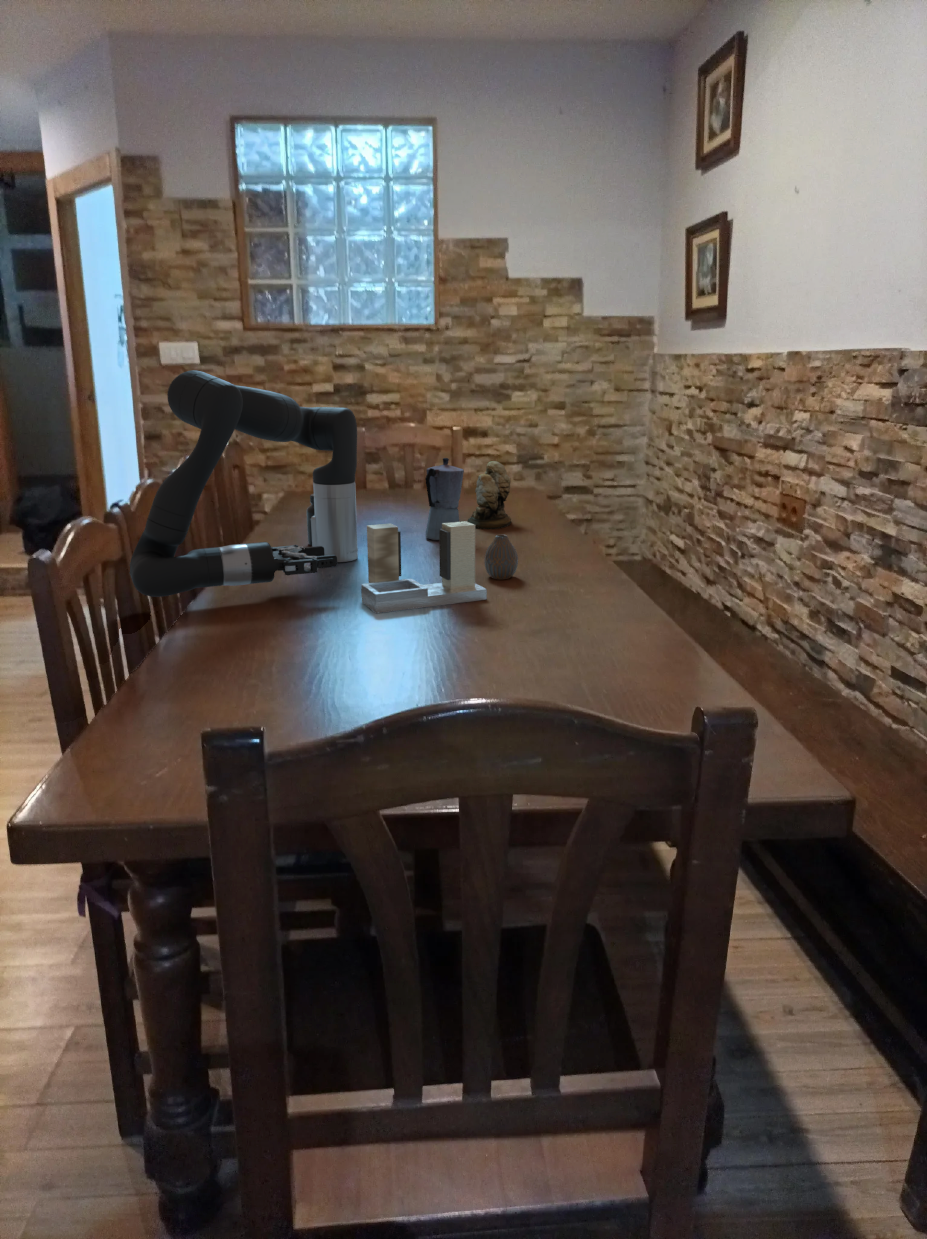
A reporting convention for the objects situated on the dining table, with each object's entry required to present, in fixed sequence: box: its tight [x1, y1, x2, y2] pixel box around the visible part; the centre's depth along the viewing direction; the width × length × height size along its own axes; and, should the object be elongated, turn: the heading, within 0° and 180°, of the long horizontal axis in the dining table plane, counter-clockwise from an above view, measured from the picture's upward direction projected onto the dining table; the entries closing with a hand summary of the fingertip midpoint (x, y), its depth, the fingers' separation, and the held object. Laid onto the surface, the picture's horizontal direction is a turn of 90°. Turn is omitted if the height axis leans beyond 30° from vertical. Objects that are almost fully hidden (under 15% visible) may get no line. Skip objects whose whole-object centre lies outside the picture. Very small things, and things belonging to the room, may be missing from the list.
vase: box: [484, 534, 519, 580], centre depth 178 cm, size 7×7×9 cm
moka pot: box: [424, 457, 465, 541], centre depth 214 cm, size 10×15×20 cm, turn 155°
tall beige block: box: [366, 523, 402, 583], centre depth 171 cm, size 6×4×12 cm
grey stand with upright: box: [360, 520, 488, 614], centre depth 160 cm, size 22×8×14 cm, turn 115°
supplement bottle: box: [306, 493, 315, 547], centre depth 209 cm, size 7×7×12 cm
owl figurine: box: [466, 460, 512, 530], centre depth 235 cm, size 18×12×17 cm, turn 169°
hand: (330, 556), depth 166 cm, fingers open, 8 cm apart
